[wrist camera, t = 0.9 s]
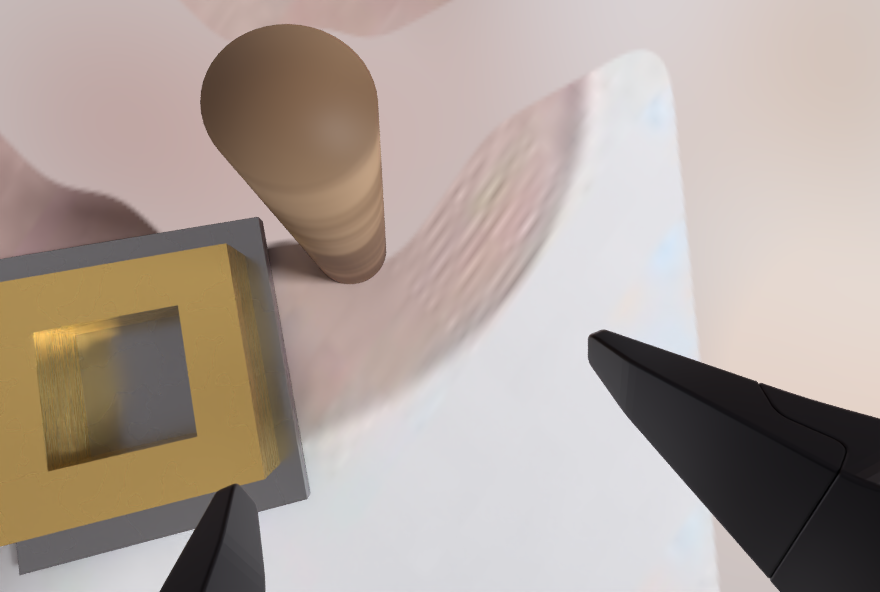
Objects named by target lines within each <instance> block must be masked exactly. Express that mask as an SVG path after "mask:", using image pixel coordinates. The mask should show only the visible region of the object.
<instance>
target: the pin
mask: <svg viewBox="0 0 880 592" xmlns="http://www.w3.org/2000/svg"><path fill="white" fill-rule="evenodd" d="M200 104H201V114H202V118H203V122H204V125H205V128H206V130H207V133H208V135H209V137H210V138H211V140H212V142H213V143H214V145H215V146H216V147H217V149H218V150H219V151H220V152H221V154H222V155H223V156H224V157H225V158H226V159H227V161H228V162H229V163H230V164H231V165H232V166H233V168H234V169H235V170H236V171H237V172H238V173H239V175H240V176H241V177H242V178H243V179H244V180H245V181H246V182H247V184H248V185H249V186H250V187H251V188H252V189H253V191H254V192H255V193H256V194H257V195H258V197H259V198H260V199H261V200H262V201H263V202H264V204H265V205H266V206H267V207H268V208H269V209H270V211H271V212H272V213H273V214H274V215H275V216H276V217H277V218H278V220H279V221H280V222H281V223H282V224H283V226H284V227H285V228H286V229H287V230H288V231H289V232H290V234H291V235H292V236H293V237H294V238H295V240H296V241H297V242H298V243H299V244H300V245H301V246H302V248H303V249H304V250H305V251H306V252H307V253H308V255H309V256H310V257H311V258H312V259H313V260H314V262H315V263H316V264H317V265H318V266H319V267H320V269H321V270H322V271H323V272H324V273H325V274H326V275H327V276H328V277H330V278H331V279H333V280H335V281H337V282H340V283H345V284H356V283H361V282H364V281H366V280H368V279H370V278H371V277H373V276H374V275H375V274H376V273H377V272H378V271H379V270H380V268H381V267H382V265H383V263H384V260H385V256H386V238H385V221H384V202H383V184H382V168H381V167H382V166H381V148H380V131H379V113H378V98H377V91H376V88H375V85H374V81H373V79H372V77H371V74H370V72H369V70H368V69H367V67H366V65H365V64H364V62H363V61H362V60H361V59H360V57H359V56H358V55H357V54H356V53H355V52H354V51H353V50H352V49H351V48H350V47H349V46H347V45H346V44H345V43H344V42H342V41H341V40H339V39H337V38H336V37H334V36H332V35H330V34H328V33H326V32H324V31H321V30H318V29H315V28H312V27H307V26H302V25H292V24H281V25H272V26H266V27H262V28H259V29H255V30H253V31H250V32H248V33H245V34H243V35H242V36H240V37H238V38H236V39H235V40H234V41H232V42H231V43H230V44H228V45H227V46H226V47H225V48H224V49H223V50H222V51H221V52H220V53H219V54H218V55H217V57H216V58H215V59H214V61H213V62H212V63H211V65H210V67H209V69H208V71H207V73H206V75H205V78H204V81H203V85H202V90H201V100H200Z"/></svg>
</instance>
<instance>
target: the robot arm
mask: <svg viewBox="0 0 880 592" xmlns="http://www.w3.org/2000/svg"><path fill="white" fill-rule="evenodd" d="M588 360H589V363H590V365H591V366H592V368H593V369H594V371H595V372H596V374H597V375H598V377H599V378H600V379H601V381H602V382H603V384H604V385H605V386H606V388H607V389H608V391H609V392H610V394H611V395H612V396H613V398H614V399H615V401H616V402H617V404H618V405H619V406H620V408H621V409H622V410H623V412H624V413H625V414H626V415H627V417H628V418H629V419H630V420H631V421H632V423H633V424H634V425H635V426H636V427H637V428H638V429H639V431H640V432H641V433H642V434H643V435H644V436H645V437H646V439H647V440H648V441H649V442H650V443H651V444H652V446H653V447H654V448H655V449H656V450H657V451H658V452H659V454H660V455H661V456H662V457H663V458H664V459H665V460H666V462H667V463H668V464H669V465H670V466H671V467H672V468H673V470H674V471H675V472H676V473H677V474H678V475H679V476H680V478H681V479H682V480H683V481H684V482H685V483H686V484H687V486H688V487H689V488H690V489H691V490H692V491H693V492H694V494H695V495H696V496H697V497H698V498H699V499H700V500H701V502H702V503H703V504H704V505H705V506H706V507H707V508H708V510H709V511H710V512H711V513H712V514H713V515H714V516H715V518H716V519H717V520H718V521H719V522H720V523H721V524H722V526H723V527H724V528H725V529H726V530H727V531H728V532H729V534H730V535H731V536H732V537H733V538H734V539H735V540H736V542H737V543H738V544H739V545H740V546H741V547H742V548H743V550H744V551H745V552H746V553H747V554H748V555H749V556H750V558H751V559H752V560H753V561H754V562H755V563H756V565H757V566H758V567H759V568H760V569H761V570H762V571H763V572H764V574H765V575H766V576H767V577H768V578H770V581H771V582H772V583H773V584H774V585H775V587H776V588H777V589H778V590H779V591H780V592H880V419H879V418H875V417H872V416H868V415H864V414H861V413H857V412H854V411H850V410H846V409H843V408H839V407H836V406H832V405H829V404H826V403H822V402H818V401H815V400H811V399H808V398H805V397H802V396H799V395H796V394H793V393H790V392H787V391H783V390H781V389H777V388H775V387H772V386H769V385H766V384H763V383H759V384H758V382H757V381H754V380H751V379H748V378H745V377H742V376H739V375H736V374H733V373H731V372H728V371H725V370H722V369H719V368H716V367H713V366H710V365H707V364H704V363H701V362H698V361H695V360H693V359H690V358H687V357H684V356H681V355H678V354H675V353H672V352H669V351H666V350H663V349H660V348H657V347H655V346H652V345H649V344H646V343H643V342H640V341H637V340H634V339H631V338H628V337H625V336H622V335H619V334H617V333H614V332H611V331H608V330H600V331H597V332H595V333H592V334H590V335H589V337H588ZM160 592H265V572H264V563H263V554H262V545H261V536H260V527H259V519H258V510H257V506H256V504H255V502H254V500H253V499H252V498H251V497H250V496H249V495H248V494H247V492H246V491H245V490H244V489H243V488H242V487H241V486H240V485H239V484H236V483H235V484H232V485H229V486H227V487H225V488H222V489H220V490H218V491H217V492H216V494H215V495H214V497H213V498H212V500H211V502H210V504H209V505H208V507H207V509H206V511H205V512H204V514H203V516H202V518H201V519H200V521H199V523H198V525H197V527H196V528H195V530H194V532H193V534H192V535H191V537H190V539H189V541H188V542H187V544H186V546H185V548H184V549H183V551H182V553H181V555H180V556H179V558H178V560H177V562H176V563H175V565H174V567H173V569H172V570H171V572H170V574H169V576H168V577H167V579H166V581H165V583H164V585H163V586H162V588H161V590H160Z"/></svg>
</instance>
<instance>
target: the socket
mask: <svg viewBox="0 0 880 592" xmlns="http://www.w3.org/2000/svg"><path fill="white" fill-rule="evenodd" d="M235 483H236V484H239V485H240V486H241V487H242V488H243V489H244V490H245V491H246V492H247V494H248V495H249V496H250V497H251V498H252V499H253V500H254V502H255V504H256V506H257V510H258V512H260V511H264V510H268V509H271V508H275V507H279V506H283V505H286V504H290V503H294V502H298V501H302V500H305V499H307V498H308V497H309V495H310V489H309V483H308V477H307V472H306V466H305V460H304V455H303V449H302V443H301V437H300V432H299V426H298V420H297V415H296V409H295V403H294V398H293V392H292V386H291V380H290V375H289V369H288V363H287V358H286V352H285V346H284V341H283V335H282V329H281V323H280V318H279V312H278V306H277V301H276V295H275V289H274V283H273V278H272V272H271V266H270V261H269V255H268V249H267V244H266V238H265V232H264V226H263V221H262V220H261V219H260V218H259V217H254V218H249V219H242V220H236V221H230V222H224V223H218V224H212V225H206V226H200V227H193V228H187V229H181V230H175V231H169V232H163V233H157V234H151V235H145V236H139V237H133V238H126V239H120V240H114V241H108V242H102V243H96V244H90V245H84V246H78V247H72V248H66V249H59V250H53V251H47V252H41V253H35V254H29V255H23V256H17V257H11V258H5V259H0V546H4V545H8V544H12V543H16V544H17V554H18V564H19V574H20V575H22V574H26V573H30V572H33V571H37V570H41V569H45V568H48V567H52V566H56V565H60V564H64V563H67V562H71V561H75V560H79V559H82V558H86V557H90V556H94V555H98V554H101V553H105V552H109V551H113V550H116V549H120V548H124V547H128V546H132V545H135V544H139V543H143V542H147V541H150V540H154V539H158V538H162V537H166V536H169V535H173V534H177V533H181V532H184V531H188V530H192V529H195V528H196V527H197V525H198V523H199V521H200V519H201V518H202V516H203V514H204V512H205V511H206V509H207V507H208V505H209V504H210V502H211V500H212V498H213V497H214V495H215V494H216V492H217V491H218V490H220V489H222V488H225V487H227V486H229V485H232V484H235Z"/></svg>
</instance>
